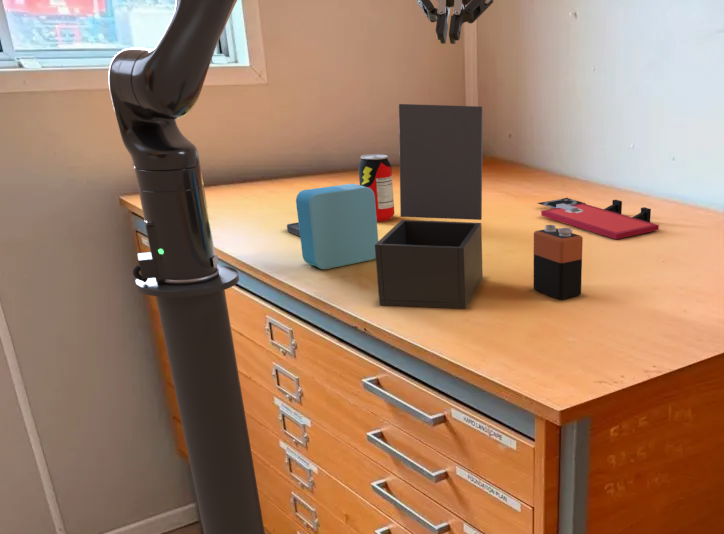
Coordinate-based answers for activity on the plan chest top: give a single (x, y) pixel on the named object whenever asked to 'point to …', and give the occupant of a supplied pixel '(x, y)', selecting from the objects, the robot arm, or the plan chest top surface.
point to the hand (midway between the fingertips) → (447, 39)
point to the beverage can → (378, 183)
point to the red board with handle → (600, 218)
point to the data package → (337, 225)
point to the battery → (557, 262)
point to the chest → (429, 264)
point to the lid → (440, 161)
